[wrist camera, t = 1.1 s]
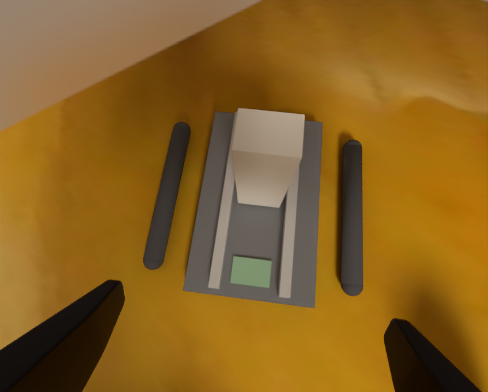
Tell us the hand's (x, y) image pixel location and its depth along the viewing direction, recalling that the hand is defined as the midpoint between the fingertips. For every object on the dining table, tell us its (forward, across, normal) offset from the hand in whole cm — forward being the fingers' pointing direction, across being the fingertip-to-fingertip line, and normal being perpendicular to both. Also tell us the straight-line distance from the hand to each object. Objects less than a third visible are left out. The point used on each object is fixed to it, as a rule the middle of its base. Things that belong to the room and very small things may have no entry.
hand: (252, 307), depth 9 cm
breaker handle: (+14, 0, +3) cm, 14 cm away
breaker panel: (+15, 0, +4) cm, 15 cm away
